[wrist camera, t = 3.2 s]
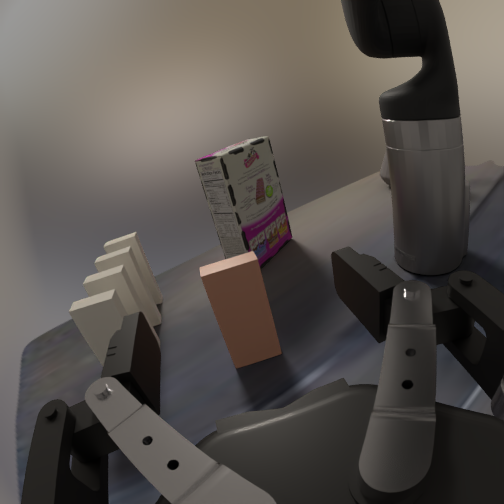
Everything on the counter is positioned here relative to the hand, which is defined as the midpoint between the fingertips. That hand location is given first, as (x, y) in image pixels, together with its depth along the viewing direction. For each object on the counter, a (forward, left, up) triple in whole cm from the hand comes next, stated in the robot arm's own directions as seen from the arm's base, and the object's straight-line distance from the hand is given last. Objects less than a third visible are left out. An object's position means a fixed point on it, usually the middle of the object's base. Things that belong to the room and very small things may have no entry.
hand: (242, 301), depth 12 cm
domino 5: (0, -11, -14) cm, 18 cm away
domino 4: (+12, -17, -14) cm, 25 cm away
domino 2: (+12, -27, -14) cm, 33 cm away
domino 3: (+12, -22, -14) cm, 29 cm away
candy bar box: (-6, -32, -14) cm, 35 cm away
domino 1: (+12, -12, -14) cm, 22 cm away
